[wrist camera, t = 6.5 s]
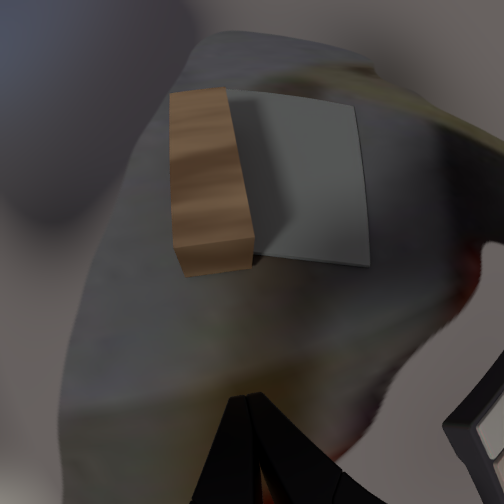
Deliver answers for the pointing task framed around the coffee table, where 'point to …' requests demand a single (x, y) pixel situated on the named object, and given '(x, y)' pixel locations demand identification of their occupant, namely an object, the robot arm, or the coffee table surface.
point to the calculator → (482, 433)
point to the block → (207, 186)
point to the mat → (302, 177)
